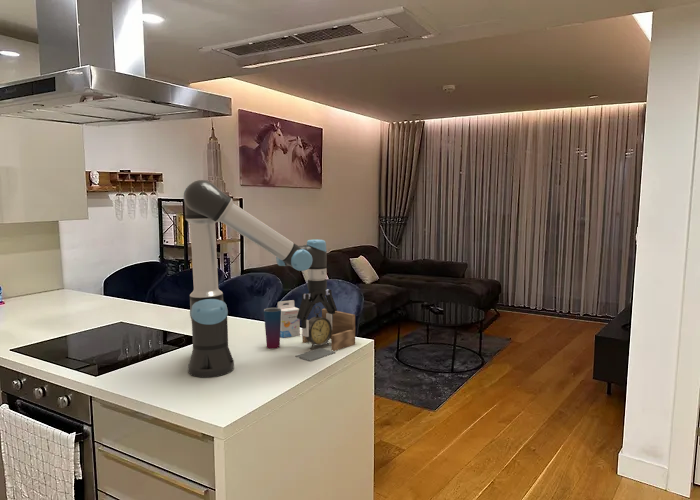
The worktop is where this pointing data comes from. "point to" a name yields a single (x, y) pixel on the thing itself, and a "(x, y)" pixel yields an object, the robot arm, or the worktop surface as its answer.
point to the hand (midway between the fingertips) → (317, 332)
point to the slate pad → (315, 354)
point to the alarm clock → (319, 330)
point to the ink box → (289, 319)
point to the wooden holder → (340, 330)
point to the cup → (272, 327)
